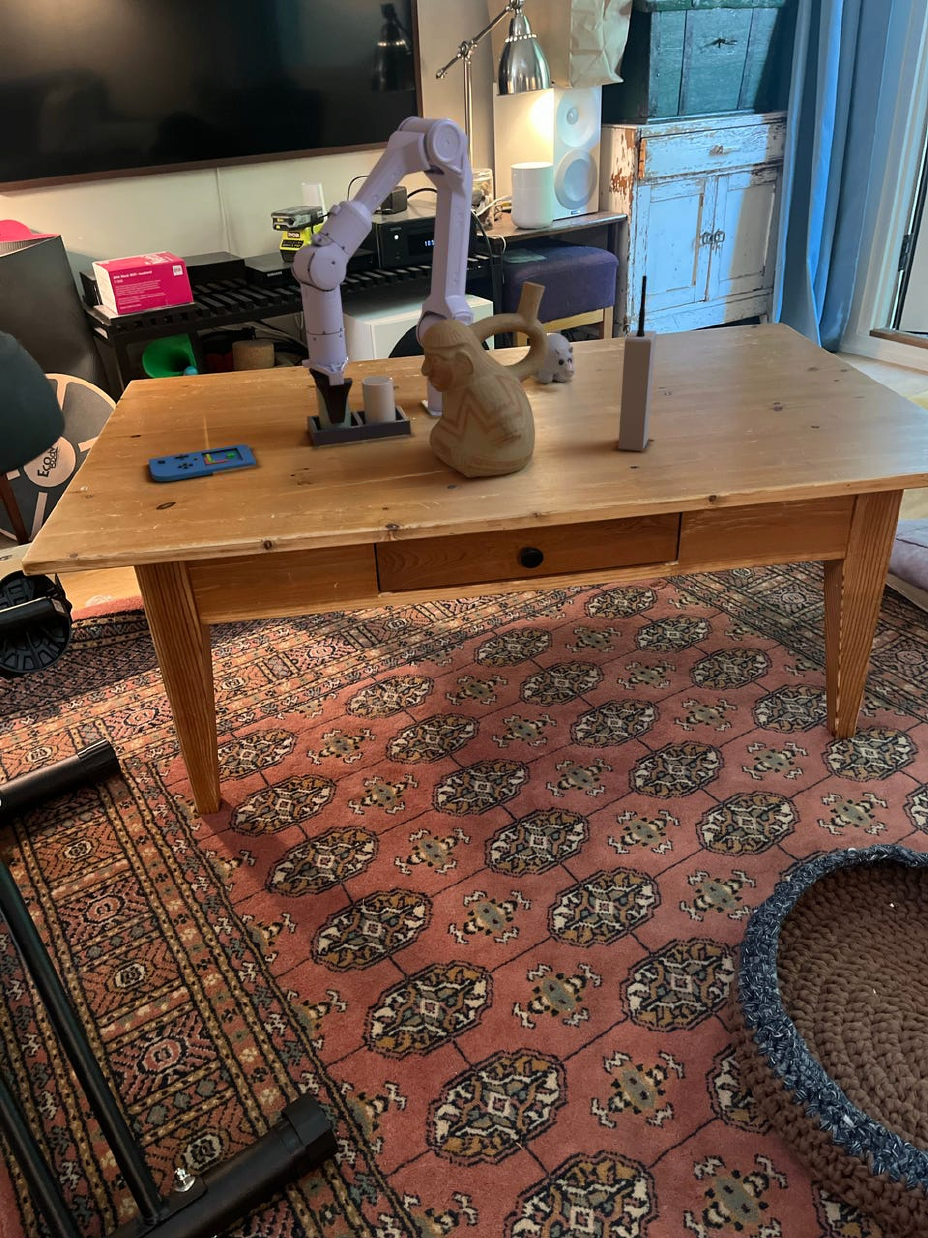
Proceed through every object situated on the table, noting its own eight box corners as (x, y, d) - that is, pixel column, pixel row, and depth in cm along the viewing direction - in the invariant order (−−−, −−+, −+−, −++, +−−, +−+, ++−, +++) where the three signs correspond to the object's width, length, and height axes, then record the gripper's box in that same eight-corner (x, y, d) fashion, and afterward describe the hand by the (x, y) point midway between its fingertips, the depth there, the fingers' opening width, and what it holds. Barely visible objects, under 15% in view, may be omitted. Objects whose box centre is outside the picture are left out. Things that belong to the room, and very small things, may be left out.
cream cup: (392, 421, 150) (389, 373, 145) (399, 431, 146) (395, 382, 141) (363, 425, 149) (358, 377, 144) (369, 435, 144) (364, 386, 140)
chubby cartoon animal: (548, 395, 160) (549, 347, 156) (526, 376, 170) (526, 330, 165) (586, 391, 162) (588, 342, 157) (562, 372, 171) (563, 326, 167)
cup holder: (400, 420, 152) (399, 404, 150) (411, 436, 145) (410, 420, 143) (308, 432, 148) (306, 416, 147) (315, 449, 142) (313, 432, 140)
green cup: (349, 427, 148) (344, 378, 144) (354, 437, 144) (349, 387, 140) (319, 431, 147) (313, 382, 143) (323, 441, 143) (317, 391, 139)
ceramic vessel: (406, 456, 138) (394, 285, 125) (520, 433, 144) (521, 269, 131) (450, 496, 125) (442, 310, 111) (574, 470, 131) (580, 290, 118)
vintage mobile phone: (648, 440, 140) (661, 270, 127) (642, 452, 136) (656, 278, 123) (624, 438, 141) (635, 270, 128) (618, 449, 137) (628, 277, 124)
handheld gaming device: (147, 457, 137) (246, 441, 142) (149, 464, 138) (247, 448, 142) (152, 476, 131) (255, 459, 135) (154, 483, 131) (256, 466, 136)
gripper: (292, 321, 142) (303, 405, 149) (305, 344, 130) (316, 435, 137) (337, 317, 143) (346, 400, 151) (353, 339, 131) (362, 429, 139)
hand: (334, 416), depth 144 cm, fingers closed on green cup, 5 cm apart
